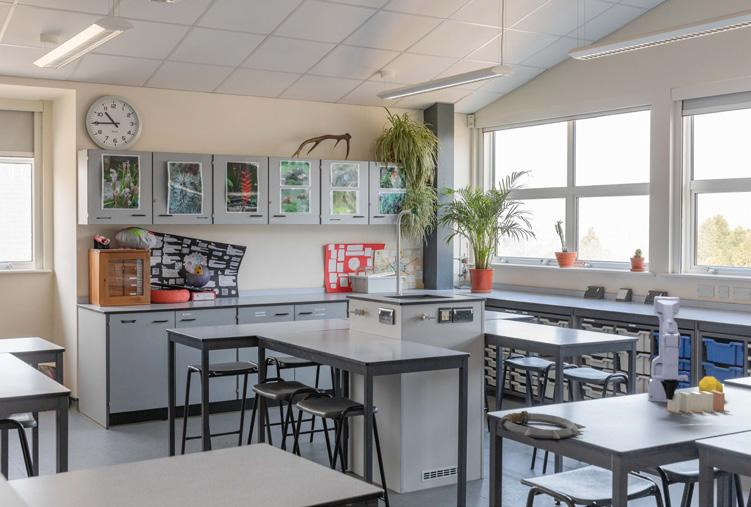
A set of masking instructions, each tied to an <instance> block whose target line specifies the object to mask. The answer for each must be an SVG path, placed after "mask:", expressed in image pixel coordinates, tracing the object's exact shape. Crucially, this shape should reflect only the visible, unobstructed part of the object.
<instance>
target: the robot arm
mask: <svg viewBox="0 0 751 507" xmlns="http://www.w3.org/2000/svg"><path fill="white" fill-rule="evenodd" d="M653 298H654V299H653V313H654V316H656V317H658V320H659V337H658V338H659V340H658V341H659V342H658V343H659V344H658V355H657V356H656V357H654V358H653V359H652V361H651V365H650V366H651V370H650V372H651V374H650V376H651V378H650V379H649V382H648V395H647V396H648V397H647V398H648V400H647V401H648V402H664V403H668V400H672V399H673V395H674V393H676V390H677V389H678V387H679V385H680V382H679V381H685V382H687V381H688V380H689V376H688V375H687V374H679V354H680V352H679V350H680V347H681V343H682V342H681V334H680V332H679V329H678V328H679V327H678V323H677V322H676V321H675V320H674V319H675V317H677V316H678V314H679V311H680V309H681V308H680V307H681V300H680V298H679V296H675V297H674V296H658V295H655V296H654V297H653Z"/></svg>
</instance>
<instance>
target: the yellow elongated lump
mask: <svg viewBox="0 0 751 507" xmlns="http://www.w3.org/2000/svg"><path fill="white" fill-rule="evenodd" d="M701 391H706V392H709V393H712V391H718V392H721V393H724V388H723V384H722V382H720V381H719V380H718V379H717V378H716V377H715V376H704V377H703V378H702V379H701V380H700V381H699V382H698V393H700V394H701Z"/></svg>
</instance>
